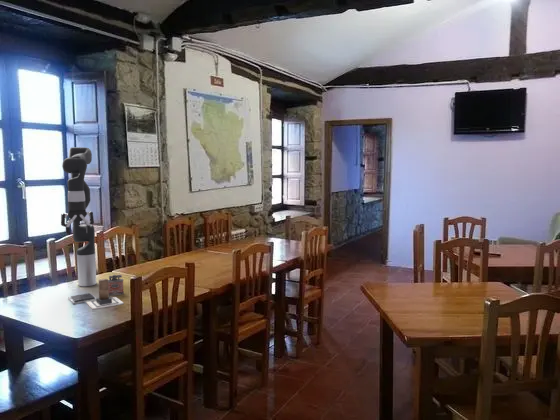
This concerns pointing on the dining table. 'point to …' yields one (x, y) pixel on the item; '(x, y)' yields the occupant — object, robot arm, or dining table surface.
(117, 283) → the lighter
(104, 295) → the stamp
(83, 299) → the ink pad
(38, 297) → the dining table surface
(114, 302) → the marked board
